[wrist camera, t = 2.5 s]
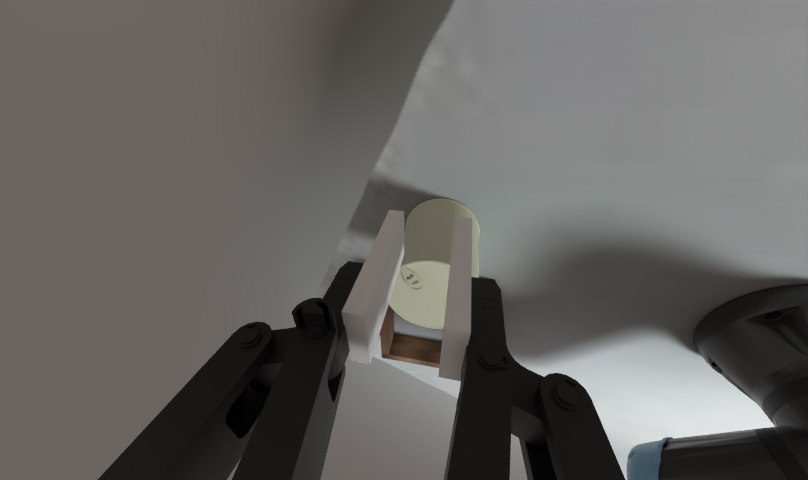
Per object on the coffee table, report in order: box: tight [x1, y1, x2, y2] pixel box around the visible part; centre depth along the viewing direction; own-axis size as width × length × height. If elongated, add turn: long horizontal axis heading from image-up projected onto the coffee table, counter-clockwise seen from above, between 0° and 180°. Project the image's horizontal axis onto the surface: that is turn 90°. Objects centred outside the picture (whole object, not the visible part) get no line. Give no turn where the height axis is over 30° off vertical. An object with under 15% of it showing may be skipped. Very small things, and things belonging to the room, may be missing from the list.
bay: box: [380, 279, 492, 368], centre depth 44 cm, size 15×17×4 cm
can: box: [389, 198, 480, 329], centre depth 32 cm, size 9×9×12 cm
